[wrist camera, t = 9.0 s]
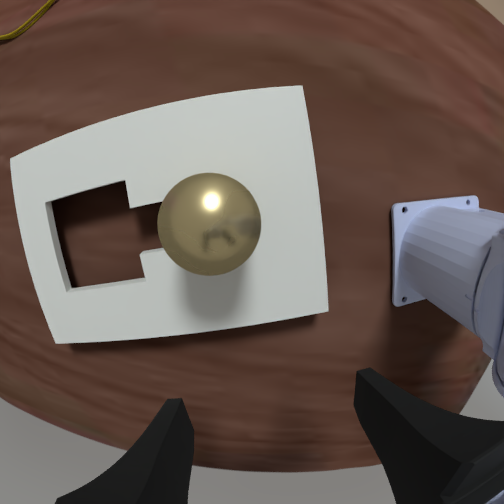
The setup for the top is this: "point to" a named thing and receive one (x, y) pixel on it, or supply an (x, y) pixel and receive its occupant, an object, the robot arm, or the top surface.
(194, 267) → the gold cylindrical piece
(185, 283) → the keyhole plate
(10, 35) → the yellow coiled cable
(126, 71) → the top surface
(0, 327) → the top surface
